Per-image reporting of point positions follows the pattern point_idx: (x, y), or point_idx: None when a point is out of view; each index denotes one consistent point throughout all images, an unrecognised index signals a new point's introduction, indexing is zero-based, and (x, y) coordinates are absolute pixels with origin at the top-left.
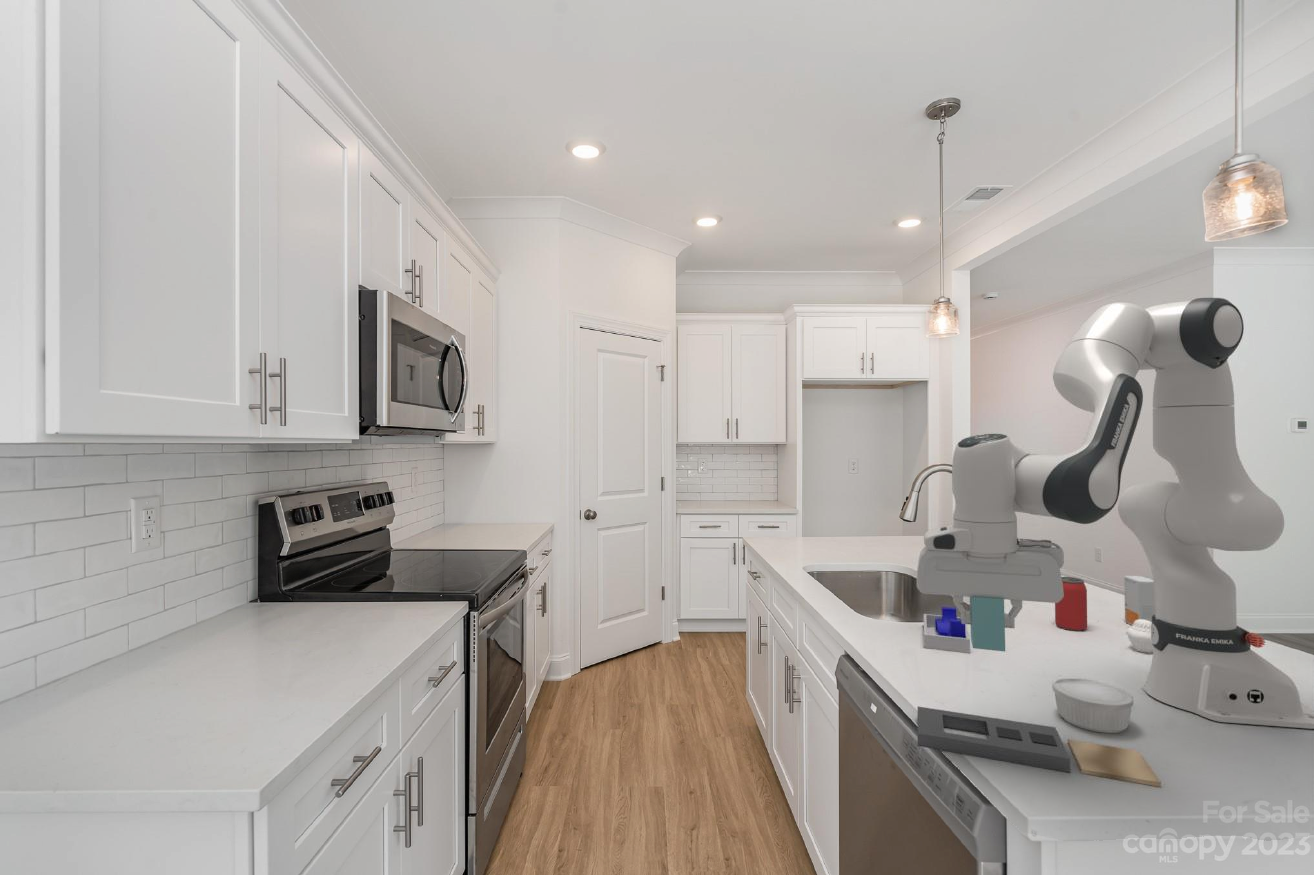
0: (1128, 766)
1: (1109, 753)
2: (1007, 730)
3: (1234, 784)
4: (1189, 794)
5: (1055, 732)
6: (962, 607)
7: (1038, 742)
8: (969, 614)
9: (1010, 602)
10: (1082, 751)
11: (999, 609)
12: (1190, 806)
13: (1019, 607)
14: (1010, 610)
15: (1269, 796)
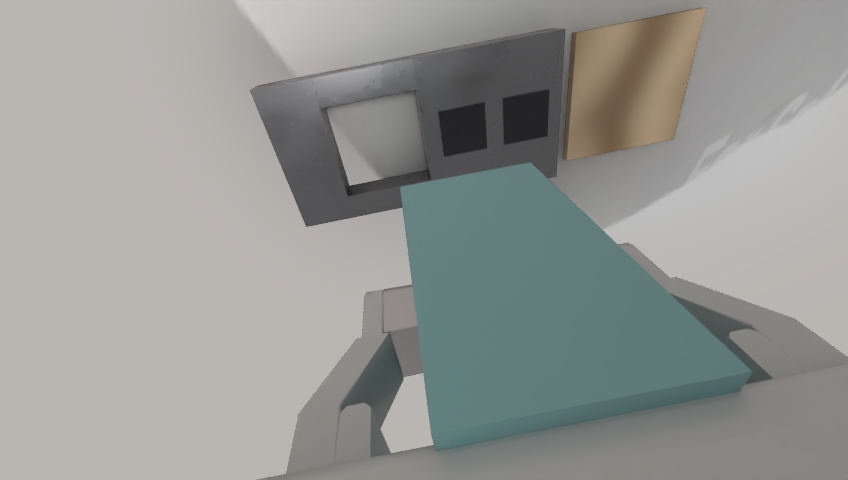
0: (649, 105)
1: (638, 60)
2: (461, 118)
3: (801, 54)
4: (699, 137)
5: (558, 64)
6: (383, 403)
7: (515, 143)
8: (421, 370)
9: (727, 344)
10: (589, 83)
11: None
12: (678, 174)
13: None
14: (676, 298)
15: (826, 72)
